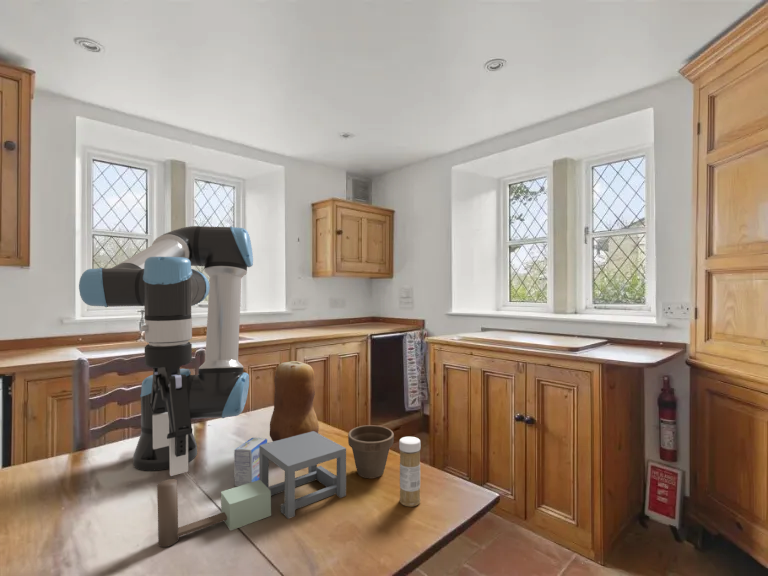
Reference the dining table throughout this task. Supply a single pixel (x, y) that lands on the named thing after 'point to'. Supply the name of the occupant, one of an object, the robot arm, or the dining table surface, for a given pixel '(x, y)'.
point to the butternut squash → (293, 401)
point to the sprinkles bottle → (409, 471)
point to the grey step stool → (299, 456)
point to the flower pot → (370, 449)
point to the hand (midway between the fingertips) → (169, 459)
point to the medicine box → (247, 461)
